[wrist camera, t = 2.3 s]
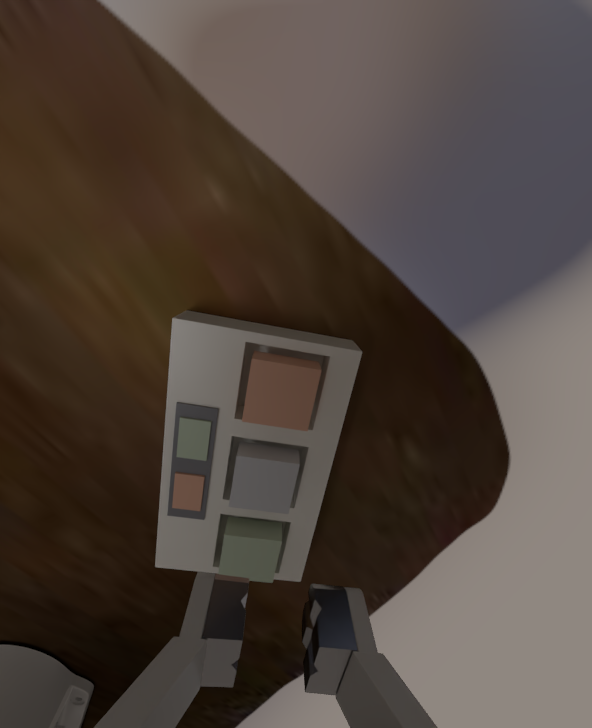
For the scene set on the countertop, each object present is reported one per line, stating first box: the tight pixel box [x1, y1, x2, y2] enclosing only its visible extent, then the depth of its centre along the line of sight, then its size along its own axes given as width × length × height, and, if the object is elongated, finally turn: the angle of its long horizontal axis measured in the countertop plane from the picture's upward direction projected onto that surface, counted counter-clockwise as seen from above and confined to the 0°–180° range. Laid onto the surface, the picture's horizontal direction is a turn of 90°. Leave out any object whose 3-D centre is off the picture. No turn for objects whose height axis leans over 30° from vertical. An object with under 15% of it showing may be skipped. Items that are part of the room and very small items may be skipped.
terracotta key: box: [242, 351, 322, 431], centre depth 24 cm, size 5×5×2 cm
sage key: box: [218, 517, 282, 583], centre depth 28 cm, size 5×5×2 cm
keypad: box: [155, 310, 362, 582], centre depth 28 cm, size 24×14×4 cm, turn 169°
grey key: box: [229, 441, 300, 514], centre depth 26 cm, size 5×5×2 cm
